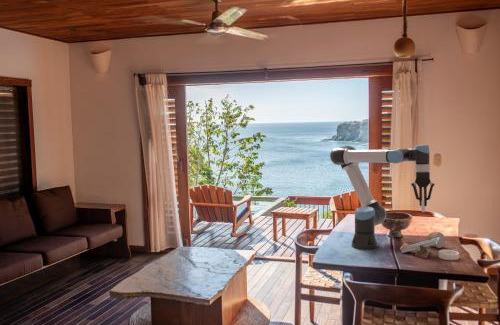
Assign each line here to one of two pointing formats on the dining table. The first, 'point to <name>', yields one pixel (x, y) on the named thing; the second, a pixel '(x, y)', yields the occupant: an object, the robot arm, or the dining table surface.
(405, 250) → the lever
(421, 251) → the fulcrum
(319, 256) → the dining table surface
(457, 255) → the bowl
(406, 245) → the ball
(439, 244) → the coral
